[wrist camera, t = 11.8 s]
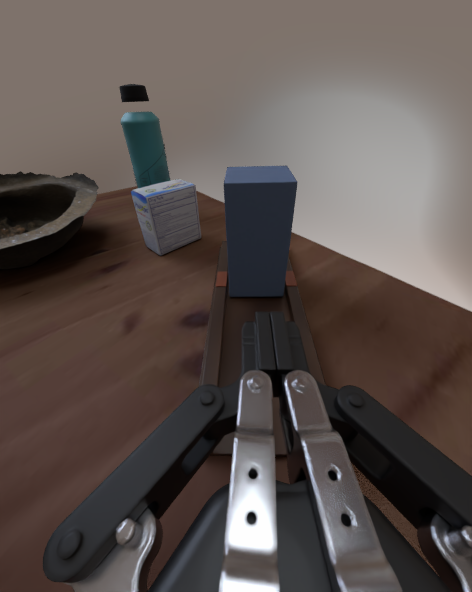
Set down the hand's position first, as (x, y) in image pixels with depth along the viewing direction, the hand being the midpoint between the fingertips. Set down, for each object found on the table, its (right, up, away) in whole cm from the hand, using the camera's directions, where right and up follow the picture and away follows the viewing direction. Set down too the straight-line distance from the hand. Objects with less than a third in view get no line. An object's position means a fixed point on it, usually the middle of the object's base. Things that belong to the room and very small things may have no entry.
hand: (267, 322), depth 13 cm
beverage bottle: (-17, +19, +37) cm, 45 cm away
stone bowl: (-35, +9, +26) cm, 44 cm away
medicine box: (-12, +10, +26) cm, 30 cm away
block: (+1, +3, +16) cm, 17 cm away
